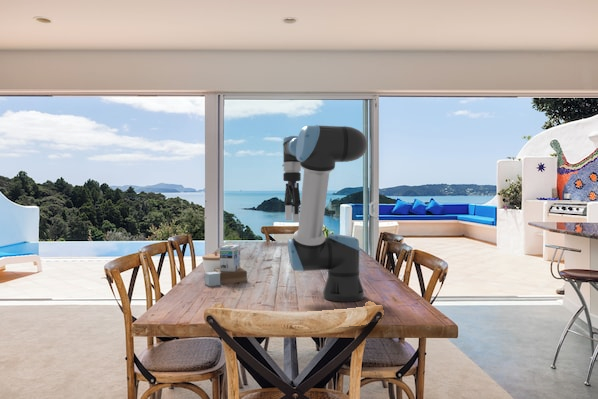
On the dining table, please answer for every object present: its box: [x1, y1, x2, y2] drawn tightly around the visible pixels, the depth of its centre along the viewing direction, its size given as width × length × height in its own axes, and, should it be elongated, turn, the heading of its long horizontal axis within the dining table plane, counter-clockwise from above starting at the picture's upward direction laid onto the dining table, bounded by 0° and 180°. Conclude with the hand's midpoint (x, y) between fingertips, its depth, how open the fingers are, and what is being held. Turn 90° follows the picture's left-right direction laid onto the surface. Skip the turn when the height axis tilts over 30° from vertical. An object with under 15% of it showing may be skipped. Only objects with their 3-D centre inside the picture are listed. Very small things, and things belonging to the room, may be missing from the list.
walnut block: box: [214, 266, 248, 285], centre depth 198 cm, size 12×12×5 cm
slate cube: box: [204, 271, 221, 287], centre depth 189 cm, size 5×5×5 cm
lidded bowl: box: [202, 251, 220, 273], centre depth 211 cm, size 13×13×11 cm
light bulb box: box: [219, 244, 241, 272], centre depth 199 cm, size 11×7×11 cm, turn 172°
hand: (292, 221), depth 193 cm, fingers open, 13 cm apart
